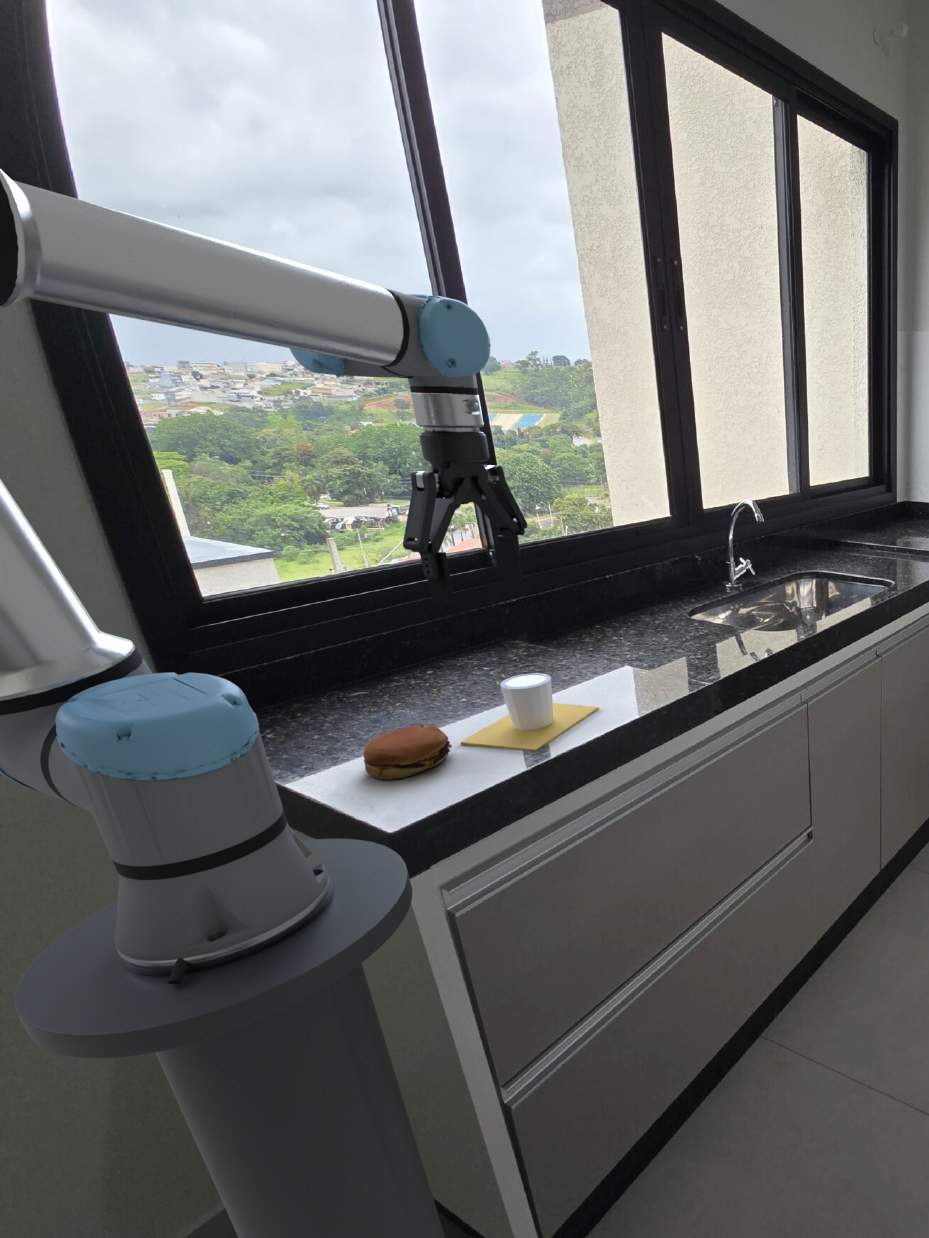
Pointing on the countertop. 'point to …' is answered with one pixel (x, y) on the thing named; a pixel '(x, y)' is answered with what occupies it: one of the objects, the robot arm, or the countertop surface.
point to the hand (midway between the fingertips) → (481, 590)
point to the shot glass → (529, 700)
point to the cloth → (532, 740)
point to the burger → (405, 752)
